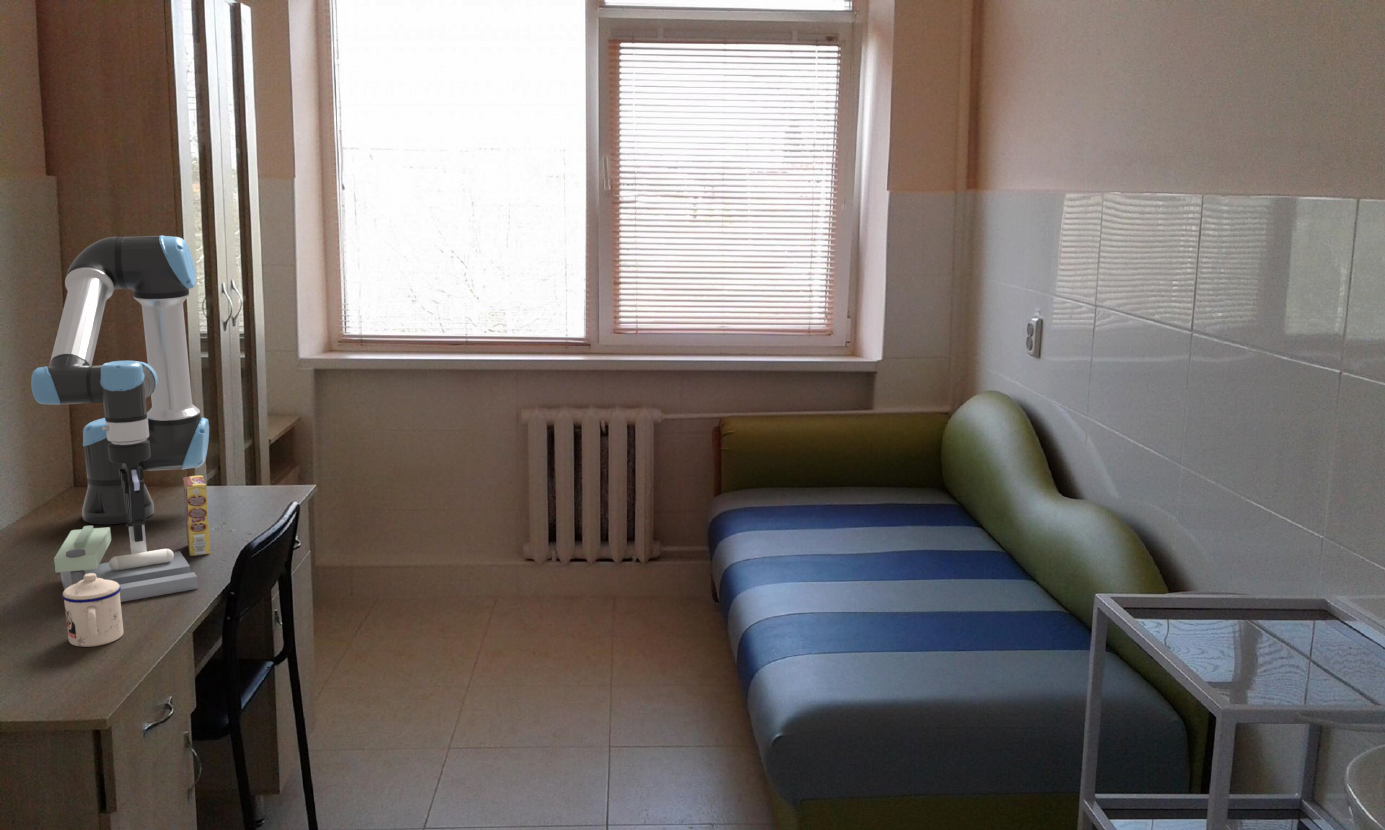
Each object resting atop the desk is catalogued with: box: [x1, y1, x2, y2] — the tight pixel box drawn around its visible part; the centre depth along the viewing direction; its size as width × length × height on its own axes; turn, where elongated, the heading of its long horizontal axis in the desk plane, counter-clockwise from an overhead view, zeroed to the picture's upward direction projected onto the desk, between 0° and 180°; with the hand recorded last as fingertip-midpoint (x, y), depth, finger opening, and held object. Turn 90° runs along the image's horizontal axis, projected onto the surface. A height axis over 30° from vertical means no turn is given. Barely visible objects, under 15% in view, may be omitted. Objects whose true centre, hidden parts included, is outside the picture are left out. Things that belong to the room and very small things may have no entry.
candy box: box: [182, 475, 211, 557], centre depth 255 cm, size 9×4×15 cm, turn 26°
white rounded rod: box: [108, 548, 174, 571], centre depth 238 cm, size 3×12×3 cm
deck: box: [60, 550, 199, 603], centre depth 234 cm, size 18×22×6 cm
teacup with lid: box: [61, 573, 124, 648], centre depth 207 cm, size 12×9×12 cm
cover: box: [53, 525, 112, 574], centre depth 233 cm, size 19×7×4 cm, turn 18°
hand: (139, 555), depth 240 cm, fingers closed
